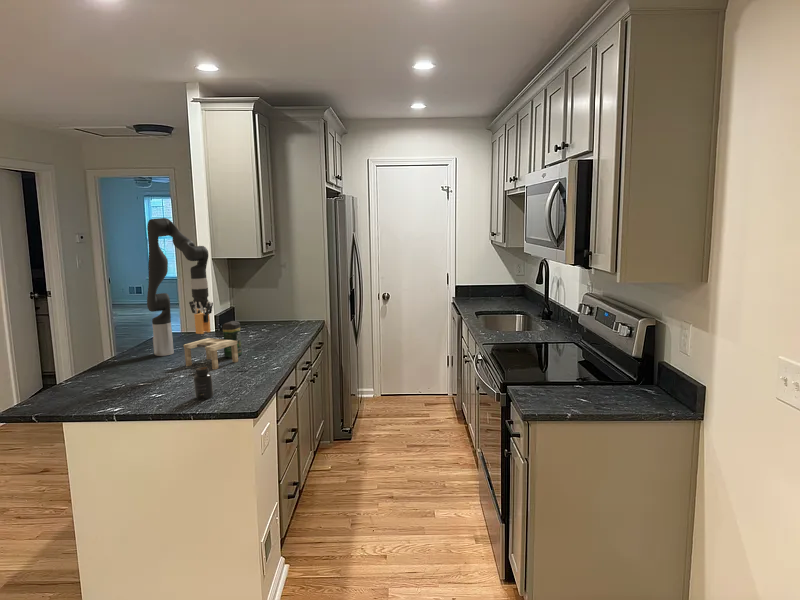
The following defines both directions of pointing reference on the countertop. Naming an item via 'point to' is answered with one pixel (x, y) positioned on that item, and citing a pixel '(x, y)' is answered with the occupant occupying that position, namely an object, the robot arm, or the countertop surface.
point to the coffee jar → (232, 337)
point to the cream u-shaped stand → (211, 350)
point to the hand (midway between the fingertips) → (202, 322)
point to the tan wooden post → (201, 324)
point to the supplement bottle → (203, 383)
